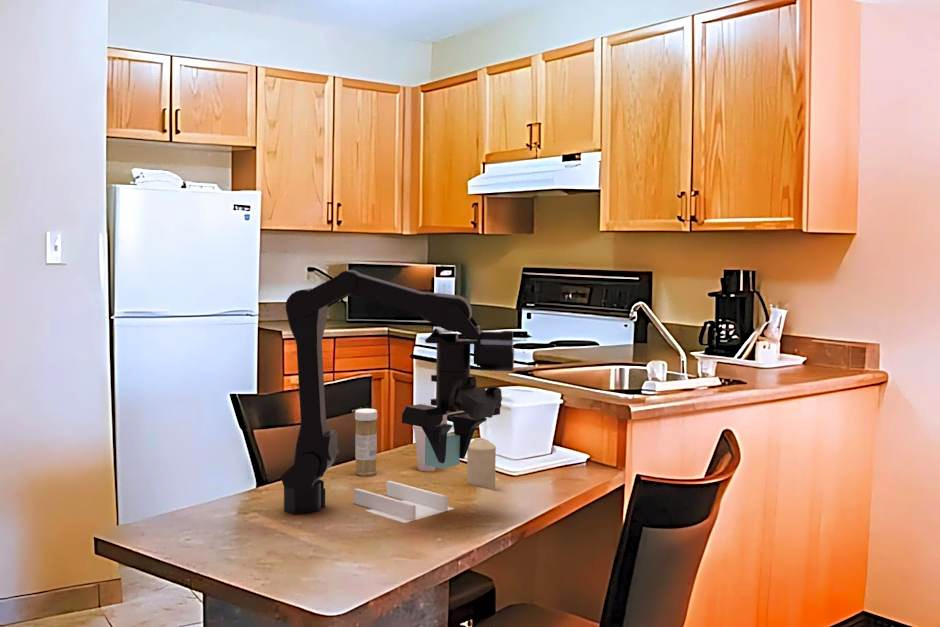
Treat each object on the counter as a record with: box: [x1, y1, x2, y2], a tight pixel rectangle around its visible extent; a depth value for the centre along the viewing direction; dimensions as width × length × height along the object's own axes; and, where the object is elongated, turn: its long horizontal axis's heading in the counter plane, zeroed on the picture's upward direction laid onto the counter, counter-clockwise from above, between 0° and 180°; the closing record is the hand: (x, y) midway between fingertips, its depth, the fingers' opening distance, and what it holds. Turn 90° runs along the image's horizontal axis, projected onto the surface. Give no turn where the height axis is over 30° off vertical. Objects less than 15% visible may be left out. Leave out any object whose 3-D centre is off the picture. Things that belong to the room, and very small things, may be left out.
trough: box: [353, 480, 455, 524], centre depth 161 cm, size 12×15×4 cm
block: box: [425, 433, 461, 470], centre depth 157 cm, size 4×5×4 cm
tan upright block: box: [466, 437, 497, 492], centre depth 179 cm, size 6×6×10 cm
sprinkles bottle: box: [354, 408, 378, 477], centre depth 190 cm, size 5×5×14 cm
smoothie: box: [412, 403, 437, 472], centre depth 194 cm, size 6×6×14 cm
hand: (451, 460), depth 156 cm, fingers closed on block, 4 cm apart
